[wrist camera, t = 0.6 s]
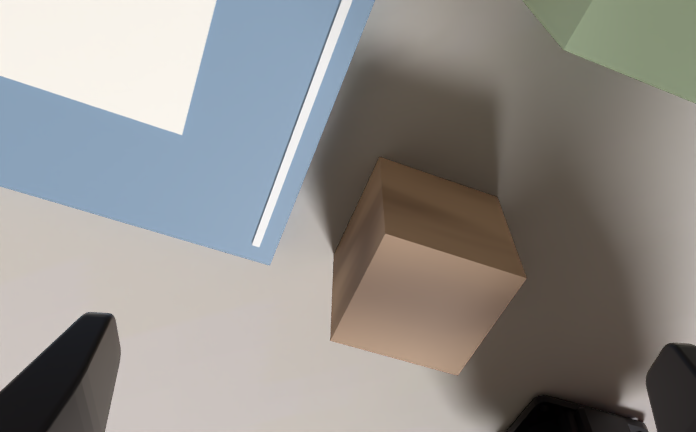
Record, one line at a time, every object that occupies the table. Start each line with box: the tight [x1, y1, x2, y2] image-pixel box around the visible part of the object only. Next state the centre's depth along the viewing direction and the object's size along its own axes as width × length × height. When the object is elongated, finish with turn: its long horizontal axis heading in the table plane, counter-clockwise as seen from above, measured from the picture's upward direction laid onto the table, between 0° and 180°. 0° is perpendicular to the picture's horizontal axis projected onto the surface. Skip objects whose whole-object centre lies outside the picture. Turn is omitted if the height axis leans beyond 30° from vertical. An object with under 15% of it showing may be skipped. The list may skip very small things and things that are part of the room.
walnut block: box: [330, 157, 527, 376], centre depth 23 cm, size 5×5×5 cm
